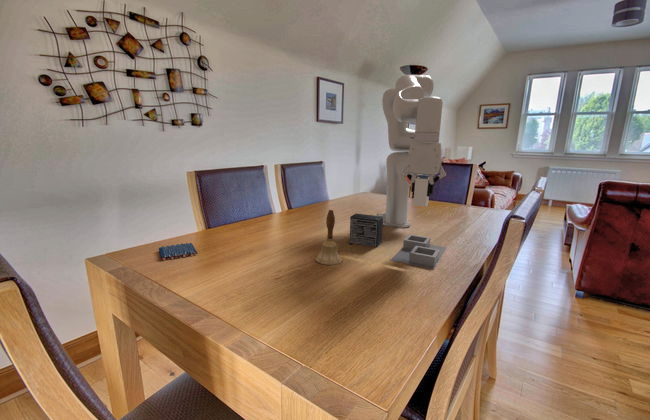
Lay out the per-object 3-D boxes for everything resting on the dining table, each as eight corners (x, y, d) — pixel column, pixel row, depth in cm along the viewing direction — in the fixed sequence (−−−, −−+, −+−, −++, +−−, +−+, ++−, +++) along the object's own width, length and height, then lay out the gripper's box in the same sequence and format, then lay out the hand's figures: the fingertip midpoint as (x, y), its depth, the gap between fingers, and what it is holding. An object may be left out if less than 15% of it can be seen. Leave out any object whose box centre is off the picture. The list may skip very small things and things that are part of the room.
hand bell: (345, 257, 101) (347, 208, 97) (337, 266, 93) (339, 214, 89) (321, 253, 103) (321, 206, 100) (311, 262, 96) (312, 211, 92)
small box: (382, 244, 114) (384, 215, 111) (377, 249, 108) (379, 220, 106) (354, 239, 118) (355, 212, 116) (348, 244, 112) (349, 216, 110)
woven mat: (198, 256, 100) (198, 250, 99) (161, 263, 94) (160, 256, 94) (193, 246, 108) (192, 241, 108) (158, 252, 103) (157, 246, 103)
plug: (413, 205, 104) (415, 175, 102) (416, 203, 107) (418, 174, 105) (425, 206, 102) (428, 176, 100) (428, 204, 105) (430, 175, 103)
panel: (390, 262, 97) (390, 250, 96) (409, 242, 115) (409, 233, 115) (433, 272, 90) (435, 259, 90) (446, 249, 109) (447, 239, 108)
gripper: (397, 137, 101) (393, 194, 105) (452, 138, 93) (446, 199, 97) (403, 138, 107) (400, 191, 111) (456, 138, 99) (450, 196, 103)
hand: (421, 194), depth 104 cm, fingers closed on plug, 4 cm apart
